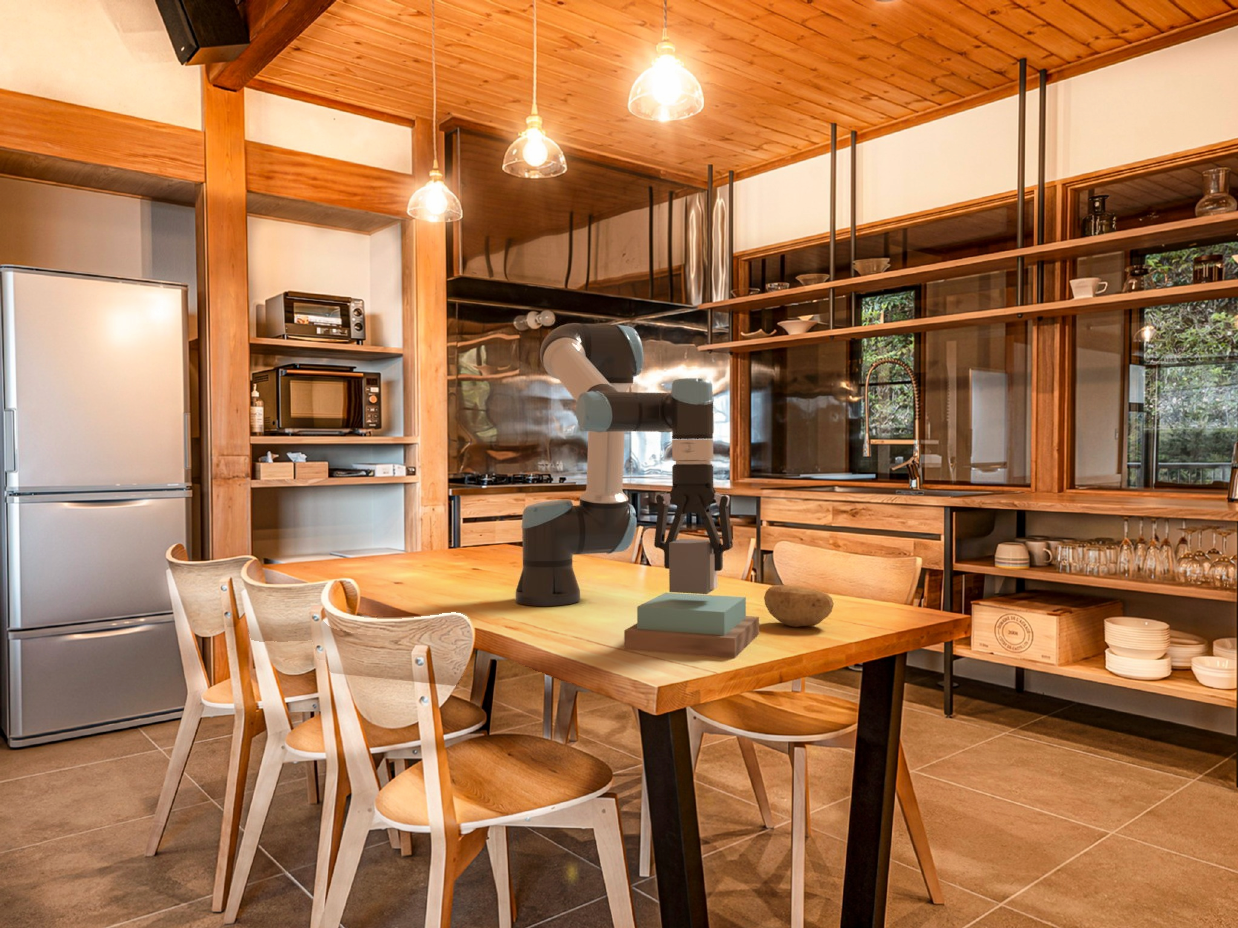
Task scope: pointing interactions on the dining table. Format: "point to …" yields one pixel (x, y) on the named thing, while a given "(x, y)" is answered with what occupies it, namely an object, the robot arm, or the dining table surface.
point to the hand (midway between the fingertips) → (693, 587)
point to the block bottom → (694, 640)
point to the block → (689, 566)
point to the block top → (692, 613)
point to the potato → (798, 605)
